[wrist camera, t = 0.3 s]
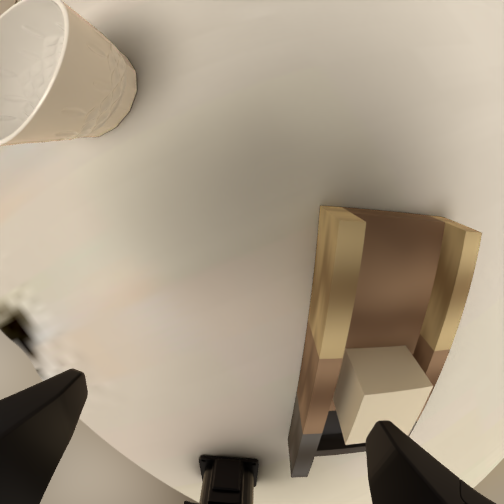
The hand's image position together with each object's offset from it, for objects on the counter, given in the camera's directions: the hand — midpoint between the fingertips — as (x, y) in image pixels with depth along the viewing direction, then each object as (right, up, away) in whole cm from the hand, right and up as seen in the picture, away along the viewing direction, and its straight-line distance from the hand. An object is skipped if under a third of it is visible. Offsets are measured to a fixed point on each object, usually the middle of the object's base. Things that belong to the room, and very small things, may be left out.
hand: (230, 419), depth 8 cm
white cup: (-11, +16, +10) cm, 22 cm away
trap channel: (+10, -3, +16) cm, 19 cm away
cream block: (+10, -5, +13) cm, 17 cm away
